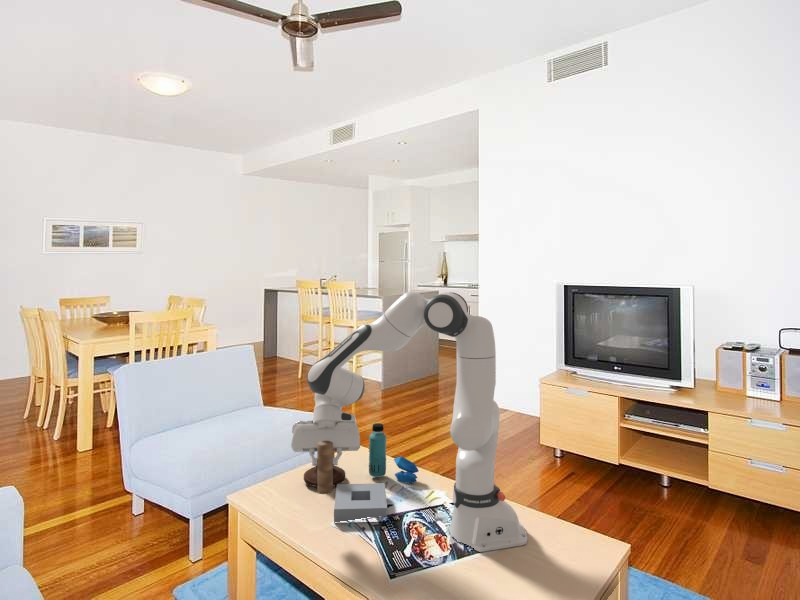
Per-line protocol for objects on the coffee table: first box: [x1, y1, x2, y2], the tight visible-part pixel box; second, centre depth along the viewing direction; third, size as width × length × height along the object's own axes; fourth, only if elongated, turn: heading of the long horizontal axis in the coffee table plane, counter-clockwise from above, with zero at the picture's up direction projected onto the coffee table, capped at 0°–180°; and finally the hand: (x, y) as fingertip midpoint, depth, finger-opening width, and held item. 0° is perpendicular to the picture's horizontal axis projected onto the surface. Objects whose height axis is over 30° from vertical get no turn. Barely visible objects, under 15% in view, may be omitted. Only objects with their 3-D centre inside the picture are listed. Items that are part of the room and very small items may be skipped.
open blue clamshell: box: [393, 456, 419, 484], centre depth 171 cm, size 7×8×11 cm
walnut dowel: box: [316, 441, 334, 495], centre depth 138 cm, size 4×4×14 cm
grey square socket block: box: [333, 482, 388, 524], centre depth 151 cm, size 16×16×4 cm
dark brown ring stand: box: [303, 451, 346, 489], centre depth 169 cm, size 15×15×20 cm
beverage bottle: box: [368, 422, 387, 478], centre depth 173 cm, size 6×7×20 cm
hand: (325, 465), depth 137 cm, fingers closed on walnut dowel, 4 cm apart
